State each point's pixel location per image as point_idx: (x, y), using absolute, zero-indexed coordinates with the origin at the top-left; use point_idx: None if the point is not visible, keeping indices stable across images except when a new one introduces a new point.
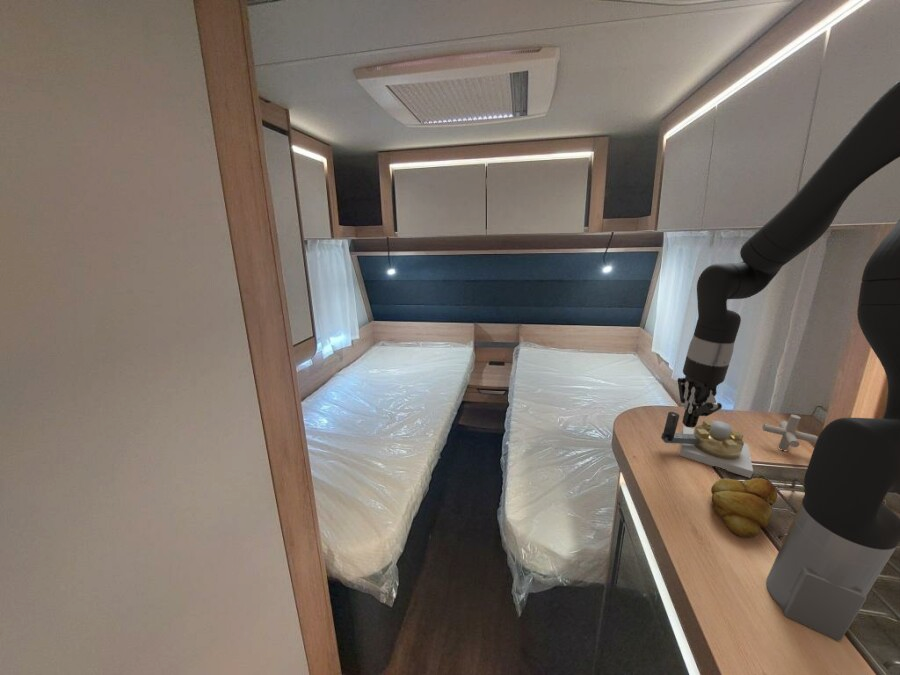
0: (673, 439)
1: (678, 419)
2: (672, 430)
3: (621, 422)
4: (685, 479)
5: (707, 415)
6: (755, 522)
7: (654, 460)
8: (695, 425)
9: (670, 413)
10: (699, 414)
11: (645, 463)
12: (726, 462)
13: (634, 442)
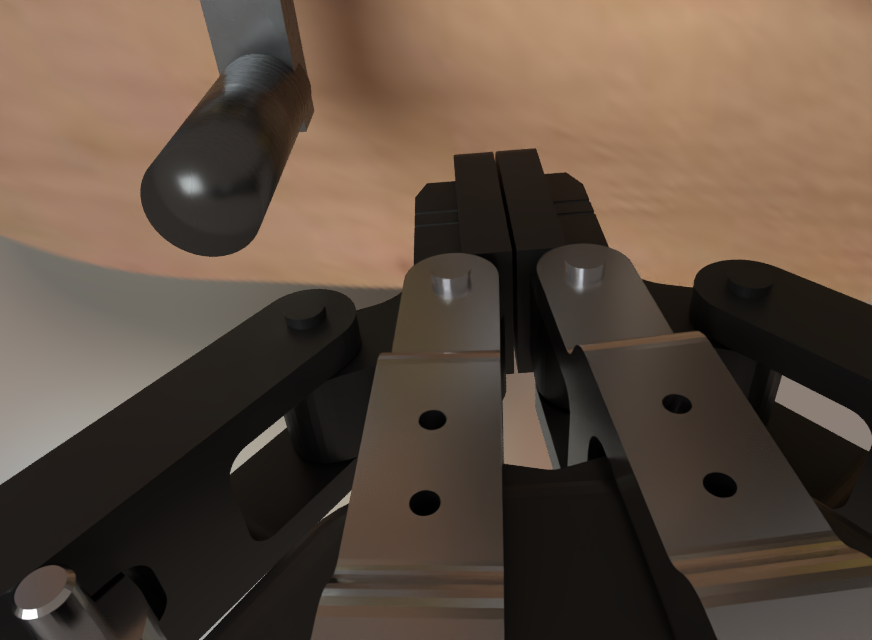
0: (297, 61)
1: (240, 144)
2: (291, 131)
3: (9, 237)
4: (604, 29)
5: (797, 287)
6: None
7: (424, 161)
8: (579, 189)
9: (188, 232)
10: (802, 423)
11: None
12: None
13: None
